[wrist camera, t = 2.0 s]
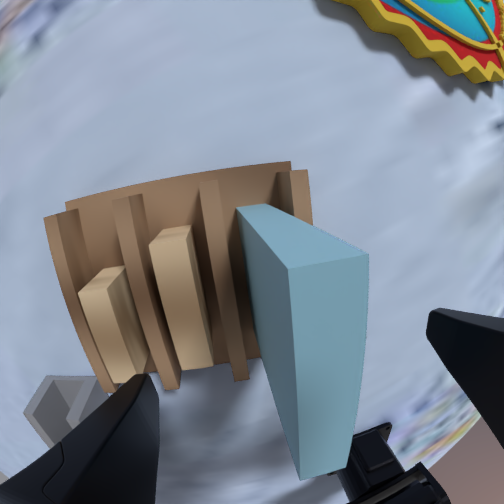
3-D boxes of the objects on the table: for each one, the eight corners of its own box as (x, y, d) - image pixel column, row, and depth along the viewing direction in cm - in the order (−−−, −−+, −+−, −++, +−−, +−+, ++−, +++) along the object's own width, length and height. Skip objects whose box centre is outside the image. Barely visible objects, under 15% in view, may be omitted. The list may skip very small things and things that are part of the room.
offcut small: (151, 345, 15) (140, 382, 12) (128, 347, 15) (113, 383, 12) (127, 264, 14) (106, 288, 11) (103, 268, 14) (77, 292, 11)
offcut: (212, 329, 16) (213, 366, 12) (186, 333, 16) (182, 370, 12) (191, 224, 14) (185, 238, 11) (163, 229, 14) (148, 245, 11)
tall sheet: (279, 325, 16) (346, 467, 7) (253, 330, 16) (299, 480, 6) (265, 203, 14) (368, 253, 5) (235, 207, 14) (288, 268, 5)
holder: (146, 457, 19) (141, 497, 14) (99, 455, 18) (90, 490, 14) (98, 376, 16) (78, 420, 12) (46, 375, 16) (22, 412, 11)
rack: (303, 343, 17) (319, 371, 14) (119, 369, 16) (107, 398, 13) (287, 161, 14) (306, 157, 12) (68, 201, 13) (41, 207, 10)
